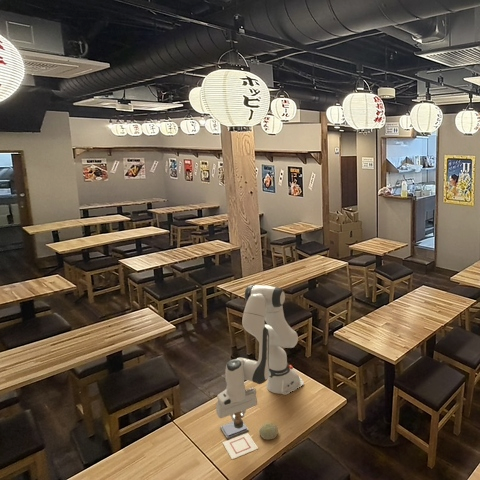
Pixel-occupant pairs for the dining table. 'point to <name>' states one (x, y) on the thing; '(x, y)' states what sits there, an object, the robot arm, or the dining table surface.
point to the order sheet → (240, 445)
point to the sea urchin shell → (268, 431)
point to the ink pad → (233, 430)
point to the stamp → (238, 420)
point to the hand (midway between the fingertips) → (238, 418)
